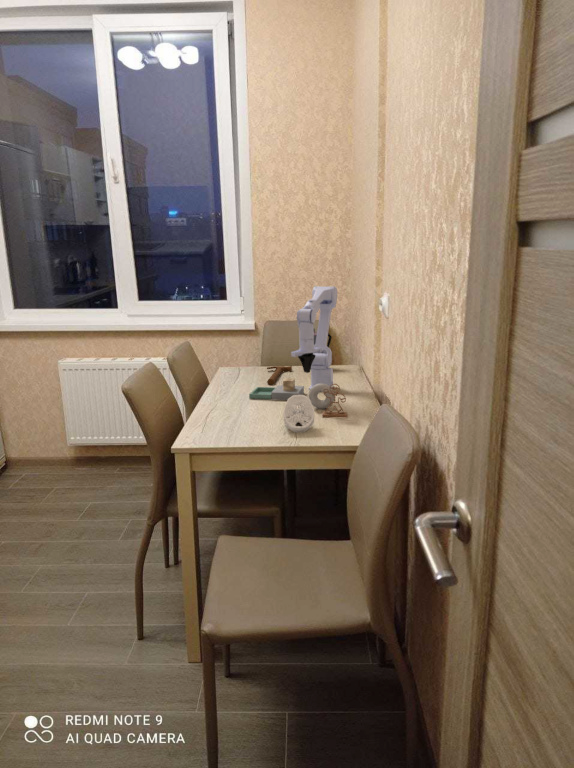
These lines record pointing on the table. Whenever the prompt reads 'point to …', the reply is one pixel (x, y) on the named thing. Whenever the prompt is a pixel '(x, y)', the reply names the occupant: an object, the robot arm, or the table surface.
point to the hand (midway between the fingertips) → (306, 372)
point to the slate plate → (286, 392)
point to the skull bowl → (298, 413)
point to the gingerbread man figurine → (334, 414)
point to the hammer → (277, 373)
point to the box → (261, 393)
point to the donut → (314, 399)
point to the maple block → (289, 384)
